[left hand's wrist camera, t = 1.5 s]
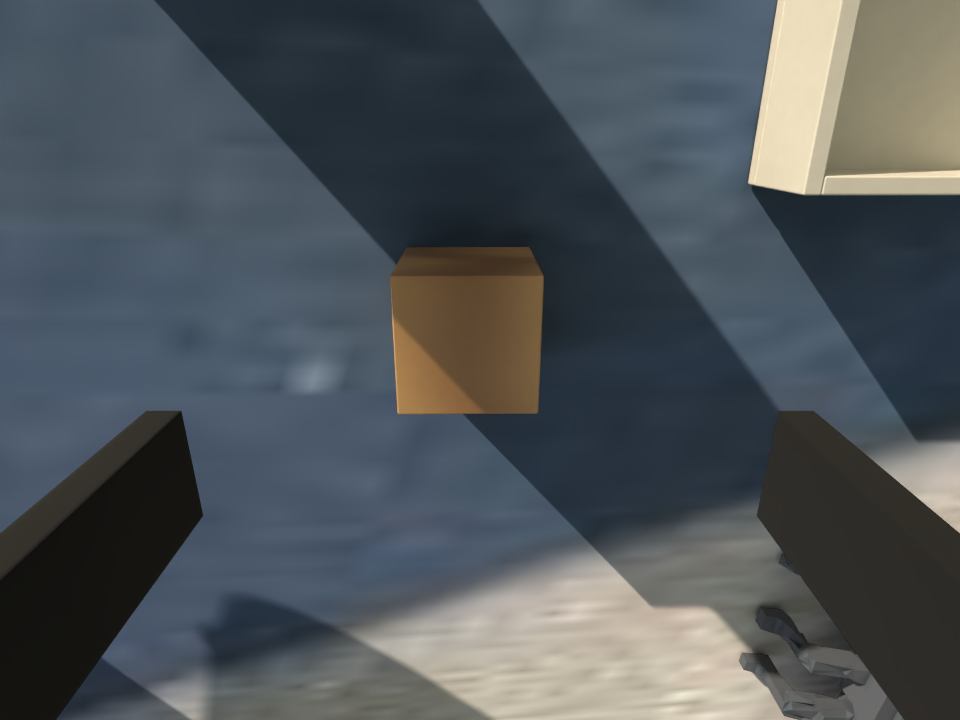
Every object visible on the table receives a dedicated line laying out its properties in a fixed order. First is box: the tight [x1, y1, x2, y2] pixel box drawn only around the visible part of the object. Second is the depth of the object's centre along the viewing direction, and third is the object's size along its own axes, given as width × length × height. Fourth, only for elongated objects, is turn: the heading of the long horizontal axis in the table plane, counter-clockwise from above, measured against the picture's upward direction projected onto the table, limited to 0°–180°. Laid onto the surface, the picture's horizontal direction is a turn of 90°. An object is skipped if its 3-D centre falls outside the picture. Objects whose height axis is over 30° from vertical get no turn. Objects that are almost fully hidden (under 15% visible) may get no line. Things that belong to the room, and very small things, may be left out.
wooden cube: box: [390, 247, 544, 414], centre depth 22 cm, size 5×5×5 cm
